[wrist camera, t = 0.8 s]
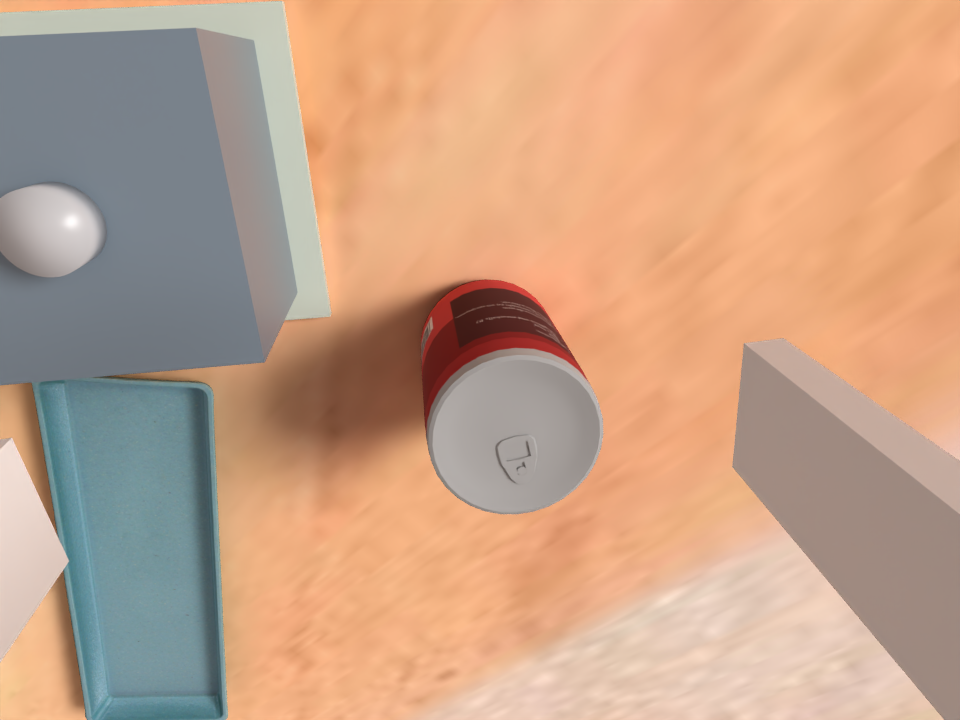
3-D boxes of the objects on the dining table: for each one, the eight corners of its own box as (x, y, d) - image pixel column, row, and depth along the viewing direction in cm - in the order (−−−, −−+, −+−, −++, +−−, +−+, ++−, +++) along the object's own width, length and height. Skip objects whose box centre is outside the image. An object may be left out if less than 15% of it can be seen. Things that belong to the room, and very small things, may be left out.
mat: (-68, 17, 28) (-77, 15, 27) (284, 2, 29) (281, 1, 28) (46, 335, 34) (40, 340, 33) (331, 312, 35) (330, 316, 35)
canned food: (460, 422, 39) (480, 542, 29) (393, 315, 36) (389, 410, 26) (572, 364, 38) (633, 467, 28) (514, 250, 35) (559, 321, 25)
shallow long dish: (47, 357, 35) (23, 377, 33) (222, 368, 36) (210, 387, 34) (101, 693, 45) (85, 726, 43) (236, 691, 47) (227, 723, 44)
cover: (-27, 53, 28) (-248, 43, 18) (253, 40, 29) (181, 24, 19) (61, 310, 33) (-78, 407, 23) (297, 292, 34) (257, 378, 24)
